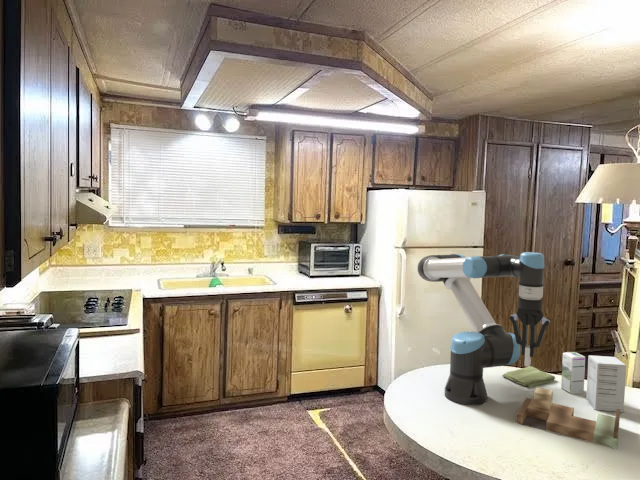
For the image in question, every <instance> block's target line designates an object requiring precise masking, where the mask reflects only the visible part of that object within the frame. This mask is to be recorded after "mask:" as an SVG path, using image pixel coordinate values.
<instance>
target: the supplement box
mask: <svg viewBox="0 0 640 480" xmlns="http://www.w3.org/2000/svg"><path fill="white" fill-rule="evenodd" d="M587 357H588V359H587V380H586V396H585V397H586V401H587V402H588V403H589V405H590V406H591V407H592V408H593V409H594V410H596V411H604V412H605V411H607V412H615V413H616V409H620V413H624V410H625V409H624V408H625V393H626V391H625V390H626V376H627V373H626V372H627V365H626V364H625V363H624V362H623V361H621V360H620V359H618V358H617V357H616V356H605V355H604V356H602V355H592V354H591V355H588V356H587Z"/></svg>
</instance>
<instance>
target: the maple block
mask: <svg viewBox="0 0 640 480" xmlns="http://www.w3.org/2000/svg"><path fill="white" fill-rule="evenodd" d="M553 395H554V393H553V389H547V388H543V387H539V386H538V387H537V386H536V388H535V390H534V391H533V399H534V406H535V407H539V408H543V409H547V410H550V408H551V406H552V403H553Z"/></svg>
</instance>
